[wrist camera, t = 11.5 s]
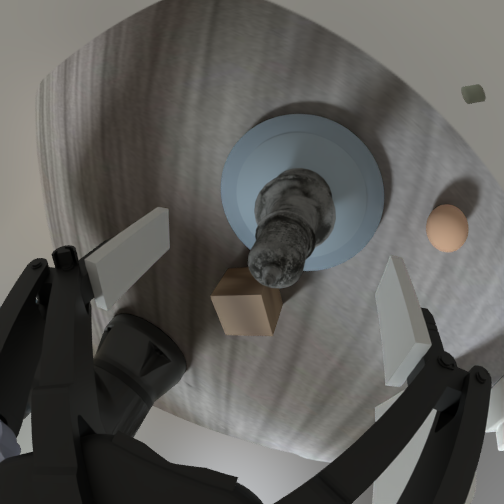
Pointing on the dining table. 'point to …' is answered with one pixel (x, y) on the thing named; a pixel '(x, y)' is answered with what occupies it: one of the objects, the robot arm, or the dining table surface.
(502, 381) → the medicine bottle
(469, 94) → the pale green cup
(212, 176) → the dining table surface
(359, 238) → the plate
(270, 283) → the stone chess piece
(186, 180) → the dining table surface
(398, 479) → the milk
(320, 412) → the dining table surface
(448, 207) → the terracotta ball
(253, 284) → the walnut block
